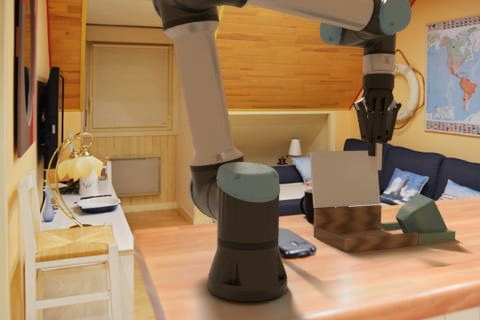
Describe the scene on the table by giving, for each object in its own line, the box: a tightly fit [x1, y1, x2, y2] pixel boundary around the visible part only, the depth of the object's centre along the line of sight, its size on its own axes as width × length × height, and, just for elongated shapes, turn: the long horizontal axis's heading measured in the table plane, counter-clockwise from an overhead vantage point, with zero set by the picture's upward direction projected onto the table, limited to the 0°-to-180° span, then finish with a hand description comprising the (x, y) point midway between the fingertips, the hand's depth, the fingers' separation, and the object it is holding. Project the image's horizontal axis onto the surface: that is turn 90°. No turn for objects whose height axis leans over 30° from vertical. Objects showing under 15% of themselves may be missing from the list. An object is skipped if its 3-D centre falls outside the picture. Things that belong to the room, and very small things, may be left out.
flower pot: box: [395, 193, 448, 233], centre depth 119 cm, size 9×9×9 cm
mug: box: [299, 188, 336, 224], centre depth 134 cm, size 12×9×10 cm
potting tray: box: [381, 221, 456, 246], centre depth 120 cm, size 12×14×2 cm
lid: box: [309, 150, 381, 208], centre depth 122 cm, size 20×14×1 cm
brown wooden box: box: [313, 204, 419, 254], centre depth 115 cm, size 20×15×8 cm
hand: (375, 169), depth 115 cm, fingers closed
